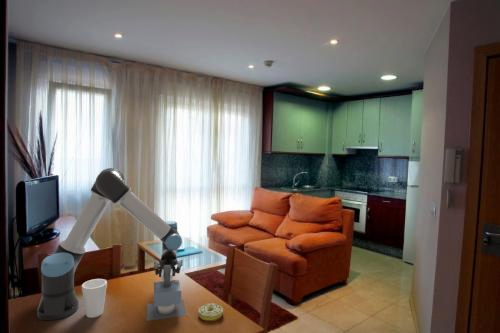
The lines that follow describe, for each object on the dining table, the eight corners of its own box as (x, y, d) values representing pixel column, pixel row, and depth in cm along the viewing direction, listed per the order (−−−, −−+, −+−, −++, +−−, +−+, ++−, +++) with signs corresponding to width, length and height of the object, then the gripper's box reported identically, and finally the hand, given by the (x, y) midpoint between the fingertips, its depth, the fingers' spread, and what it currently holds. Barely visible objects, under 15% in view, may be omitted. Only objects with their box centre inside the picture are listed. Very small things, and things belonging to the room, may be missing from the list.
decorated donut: (224, 310, 137) (224, 301, 137) (221, 323, 126) (221, 314, 126) (200, 309, 137) (201, 300, 137) (196, 322, 126) (196, 313, 126)
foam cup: (96, 321, 125) (96, 289, 124) (76, 318, 127) (76, 287, 126) (111, 309, 134) (111, 280, 134) (93, 306, 136) (92, 277, 136)
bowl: (157, 314, 130) (158, 306, 130) (157, 306, 137) (157, 298, 137) (174, 312, 132) (175, 304, 132) (173, 304, 139) (174, 297, 139)
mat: (146, 321, 126) (146, 320, 126) (147, 304, 139) (147, 304, 139) (186, 316, 130) (186, 315, 130) (183, 300, 144) (183, 299, 144)
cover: (153, 306, 128) (154, 272, 127) (153, 294, 138) (153, 262, 137) (181, 303, 131) (181, 269, 130) (179, 291, 141) (179, 260, 141)
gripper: (185, 264, 153) (186, 285, 130) (151, 266, 150) (146, 288, 127) (185, 249, 153) (186, 268, 130) (151, 251, 149) (146, 270, 126)
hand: (166, 278), depth 129 cm, fingers closed on cover, 3 cm apart
